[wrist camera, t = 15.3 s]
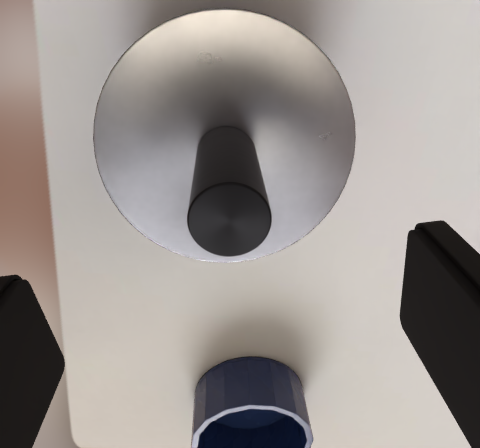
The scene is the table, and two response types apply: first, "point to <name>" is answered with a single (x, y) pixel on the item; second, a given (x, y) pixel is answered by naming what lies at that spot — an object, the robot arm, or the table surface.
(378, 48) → the table surface
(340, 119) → the lid
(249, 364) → the blue faceted bowl
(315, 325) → the table surface
